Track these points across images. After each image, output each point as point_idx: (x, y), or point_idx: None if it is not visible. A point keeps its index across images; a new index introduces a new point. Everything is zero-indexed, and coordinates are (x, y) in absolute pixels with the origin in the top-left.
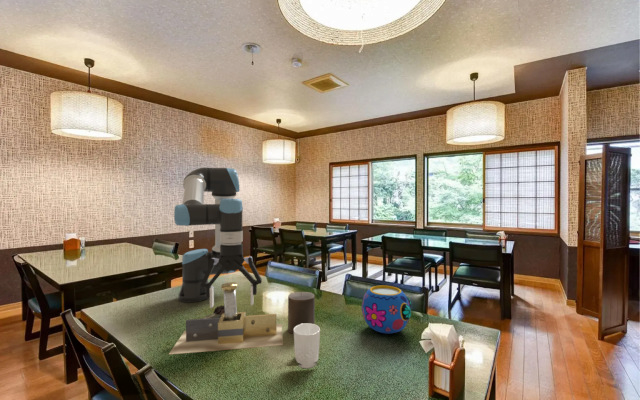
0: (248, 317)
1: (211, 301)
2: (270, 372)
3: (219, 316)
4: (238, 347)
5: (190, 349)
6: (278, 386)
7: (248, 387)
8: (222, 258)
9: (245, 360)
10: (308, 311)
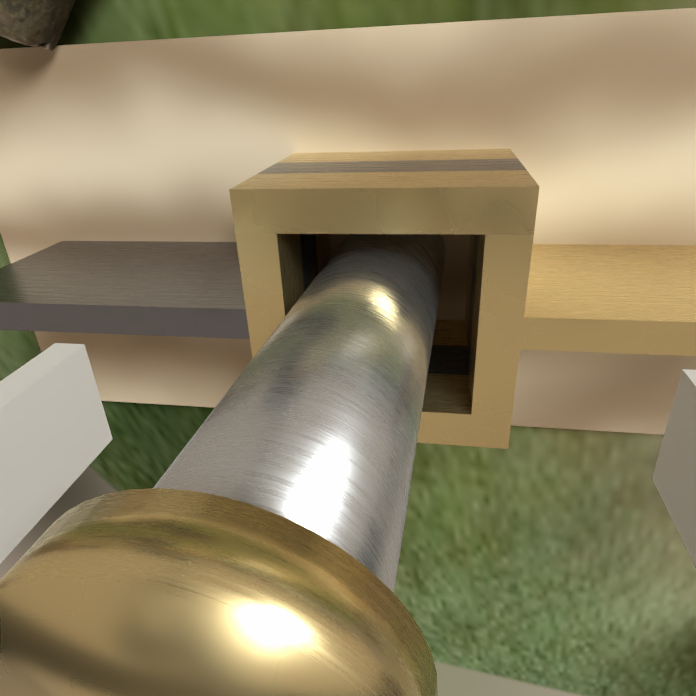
0: (572, 347)
1: (51, 499)
2: (637, 604)
3: None
4: None
5: (153, 370)
6: (653, 680)
7: (523, 654)
8: None
9: (508, 492)
10: None
